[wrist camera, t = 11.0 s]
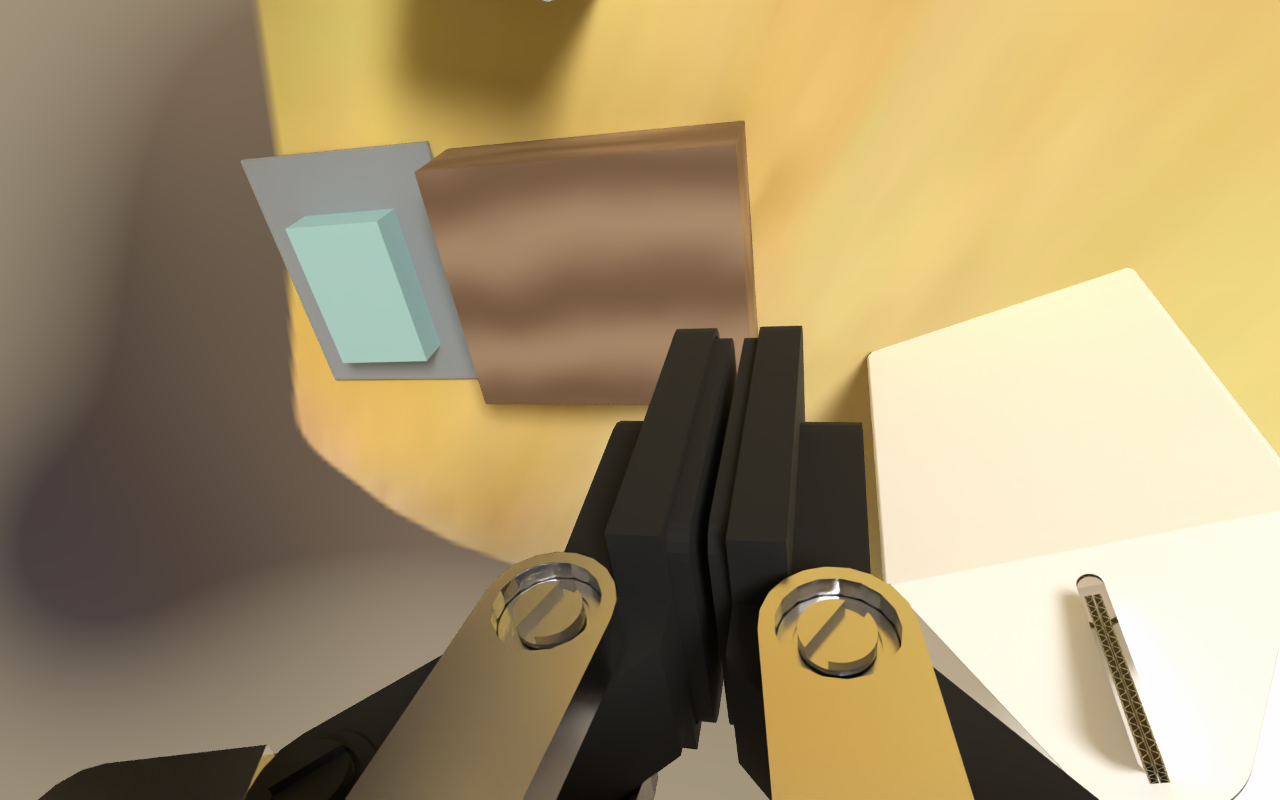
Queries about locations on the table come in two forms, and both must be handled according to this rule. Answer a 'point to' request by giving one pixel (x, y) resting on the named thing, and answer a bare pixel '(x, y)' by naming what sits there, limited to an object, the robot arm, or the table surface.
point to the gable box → (1089, 539)
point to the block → (365, 286)
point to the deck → (593, 256)
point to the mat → (356, 187)
